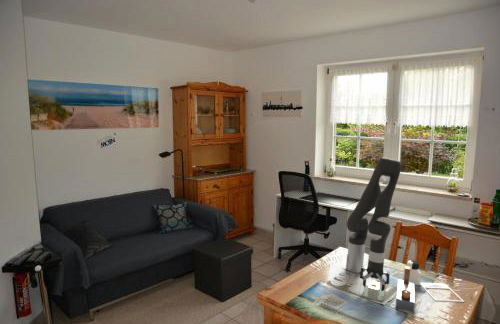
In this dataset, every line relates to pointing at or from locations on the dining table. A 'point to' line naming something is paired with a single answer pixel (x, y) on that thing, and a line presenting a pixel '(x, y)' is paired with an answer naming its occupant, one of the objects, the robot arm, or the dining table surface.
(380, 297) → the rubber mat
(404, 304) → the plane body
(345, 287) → the dining table surface
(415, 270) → the medicine bottle
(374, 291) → the lever cap
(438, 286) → the photo frame
